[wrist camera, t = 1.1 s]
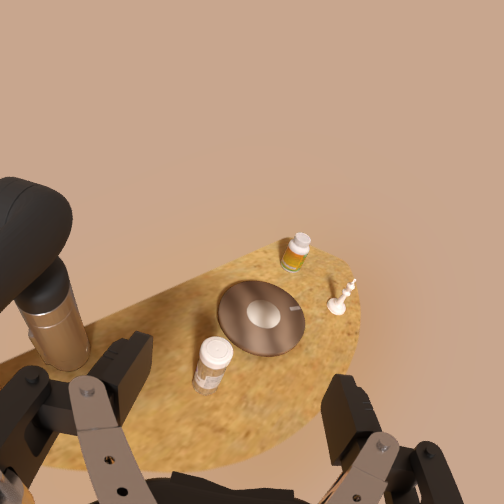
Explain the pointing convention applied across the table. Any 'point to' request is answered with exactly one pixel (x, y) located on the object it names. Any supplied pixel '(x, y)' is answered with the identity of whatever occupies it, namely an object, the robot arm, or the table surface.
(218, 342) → the sprinkles bottle
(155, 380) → the table surface
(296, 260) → the supplement bottle
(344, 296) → the chess piece
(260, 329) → the turntable platter
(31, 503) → the robot arm
